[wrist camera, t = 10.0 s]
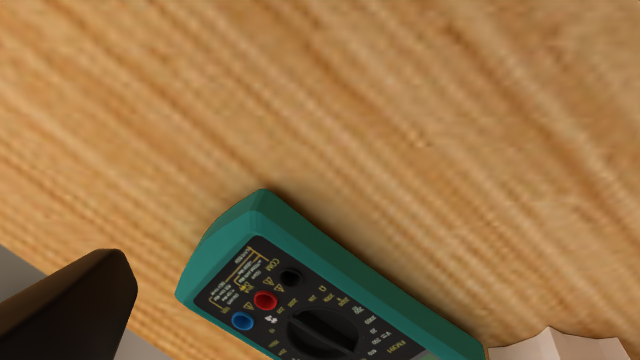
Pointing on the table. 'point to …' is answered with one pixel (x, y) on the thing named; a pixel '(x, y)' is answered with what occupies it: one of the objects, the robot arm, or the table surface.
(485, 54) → the table surface
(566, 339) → the cup
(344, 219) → the table surface
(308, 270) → the digital multimeter
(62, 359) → the robot arm
